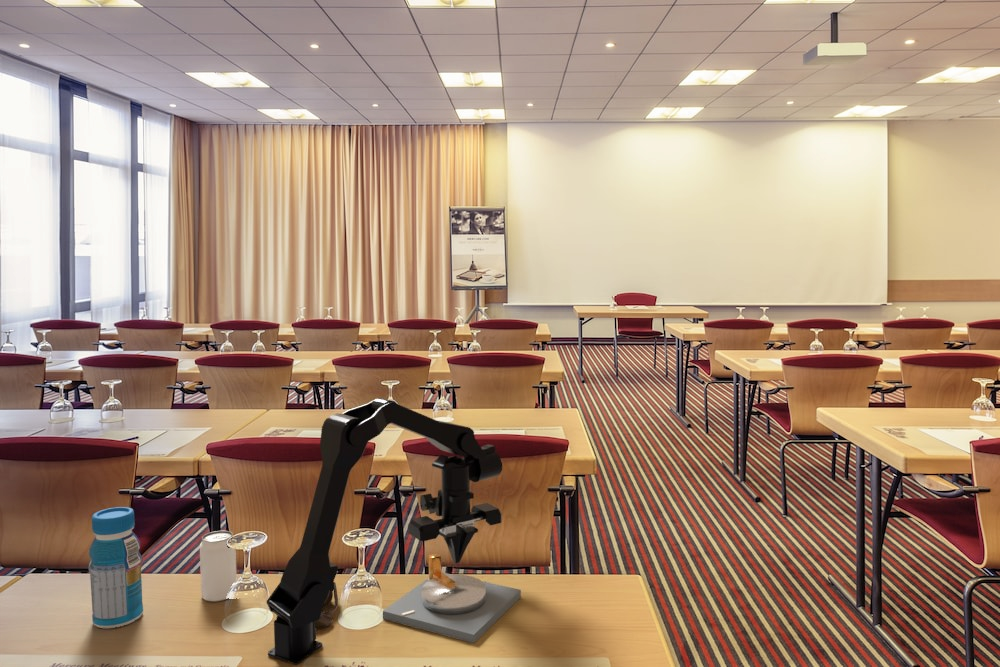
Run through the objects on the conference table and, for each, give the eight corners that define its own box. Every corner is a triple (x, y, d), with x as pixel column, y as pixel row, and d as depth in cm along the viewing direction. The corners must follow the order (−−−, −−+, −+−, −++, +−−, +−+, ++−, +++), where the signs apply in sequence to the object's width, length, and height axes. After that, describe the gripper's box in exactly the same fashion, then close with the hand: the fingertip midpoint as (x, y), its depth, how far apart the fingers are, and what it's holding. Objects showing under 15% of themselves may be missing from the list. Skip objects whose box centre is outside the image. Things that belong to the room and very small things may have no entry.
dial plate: (473, 643, 119) (473, 633, 119) (382, 618, 127) (382, 609, 127) (520, 597, 136) (520, 588, 136) (437, 578, 144) (437, 570, 144)
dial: (497, 602, 130) (497, 573, 129) (441, 620, 123) (440, 589, 123) (458, 574, 142) (458, 547, 141) (404, 589, 135) (404, 561, 135)
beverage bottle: (96, 635, 122) (90, 524, 120) (87, 617, 128) (82, 511, 126) (149, 620, 127) (144, 513, 125) (138, 603, 133) (133, 501, 132)
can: (201, 591, 138) (198, 532, 137) (235, 585, 141) (233, 527, 140) (202, 605, 133) (199, 544, 132) (238, 598, 135) (236, 538, 134)
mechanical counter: (353, 570, 136) (303, 559, 136) (336, 594, 123) (281, 581, 123) (345, 607, 136) (295, 595, 136) (327, 634, 123) (272, 621, 123)
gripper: (474, 470, 151) (474, 540, 152) (395, 484, 140) (396, 559, 141) (503, 482, 141) (503, 557, 143) (421, 499, 131) (421, 579, 132)
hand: (456, 562), depth 140 cm, fingers closed
